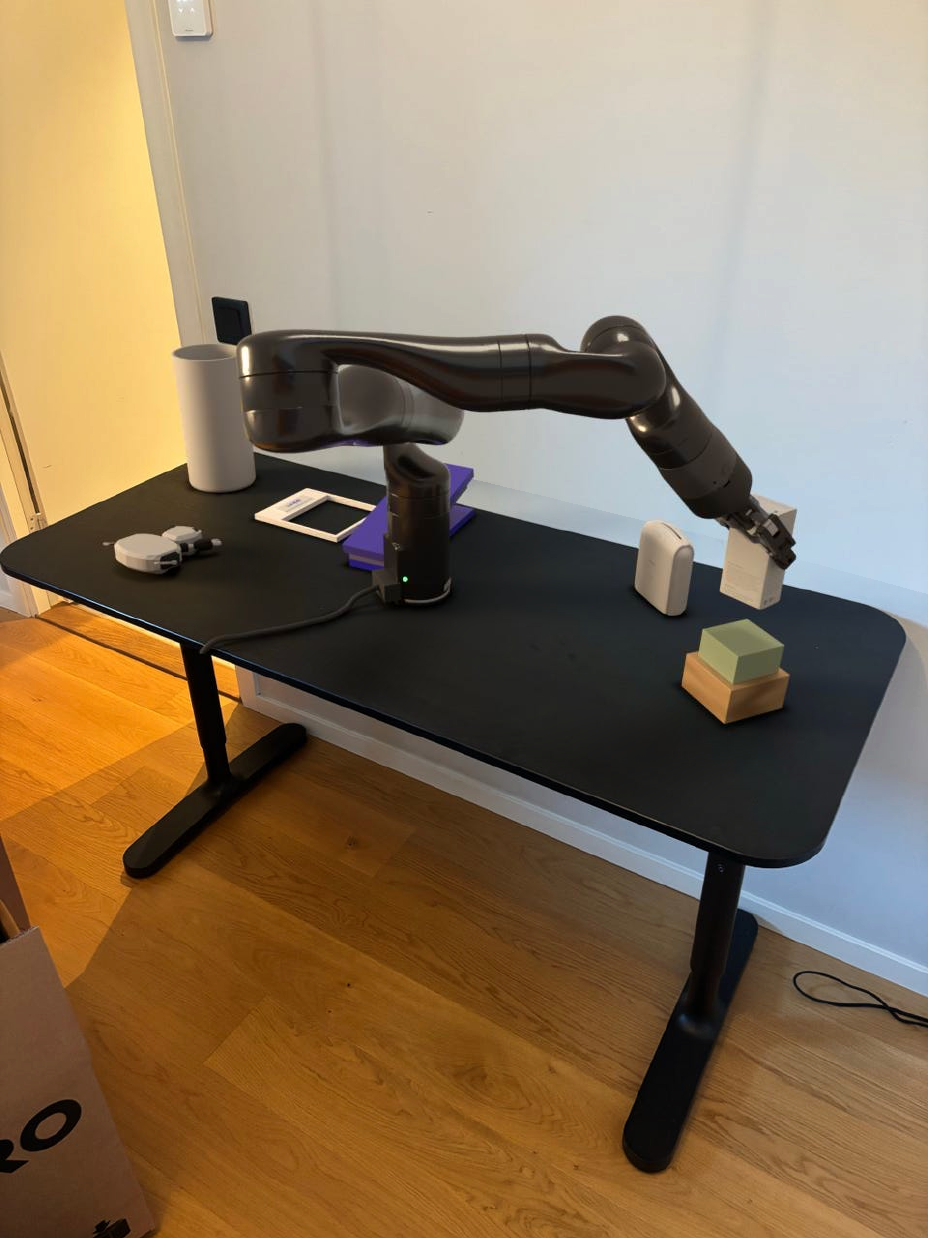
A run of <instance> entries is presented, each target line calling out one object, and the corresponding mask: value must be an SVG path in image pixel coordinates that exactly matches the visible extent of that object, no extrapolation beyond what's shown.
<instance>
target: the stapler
mask: <svg viewBox="0 0 928 1238" xmlns="http://www.w3.org/2000/svg"><path fill="white" fill-rule="evenodd" d="M443 463H444V464H445V465H446V466H447V467H448V469H449V471H450V478H451V479H450V537H451V536H452V535H454V533H455V534H456V533H457V531H458V530H460V529H461V527H462V526H463V525H465V524H466V523H467V522H468V521H469V520H470V519H471V518H473V517H474V508H471V507H466V506H461V505H457V504H456V503H457V502H458V501H459V499H461V497H462V496H463V494H464V493H465V492H466V491H467V489H468V485H469V483H470V482H471V481H472V480H473V479H474V478H475V470H474V468H472V467H467V466H462V465H457V464H451V463H448V462H447V463H446V462H443ZM375 506H376V507H375V508H374V509H373V511H370V512H369V514H368V515H367V516H366V517H364V518H365V520H364V521H363V522H362V523H361V524H360V525H359V526H358V527H357V529H356V530H355V531H354V532H353V533H352V534H350V535H348V537H347V539H346V540H345V541H344V542H343V543H342V549H343V553H345V554H348V558H349V559H348V560H349V567H353V568H358V569H362V570H366V571H371V572H372V570H377V569H383V568H384V551H383V533H385V532H388V531H387V494H386V495H385V496H384V497H383V498H382V499H381V500H380V502H379V503H378V504H376V505H375Z"/></svg>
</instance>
